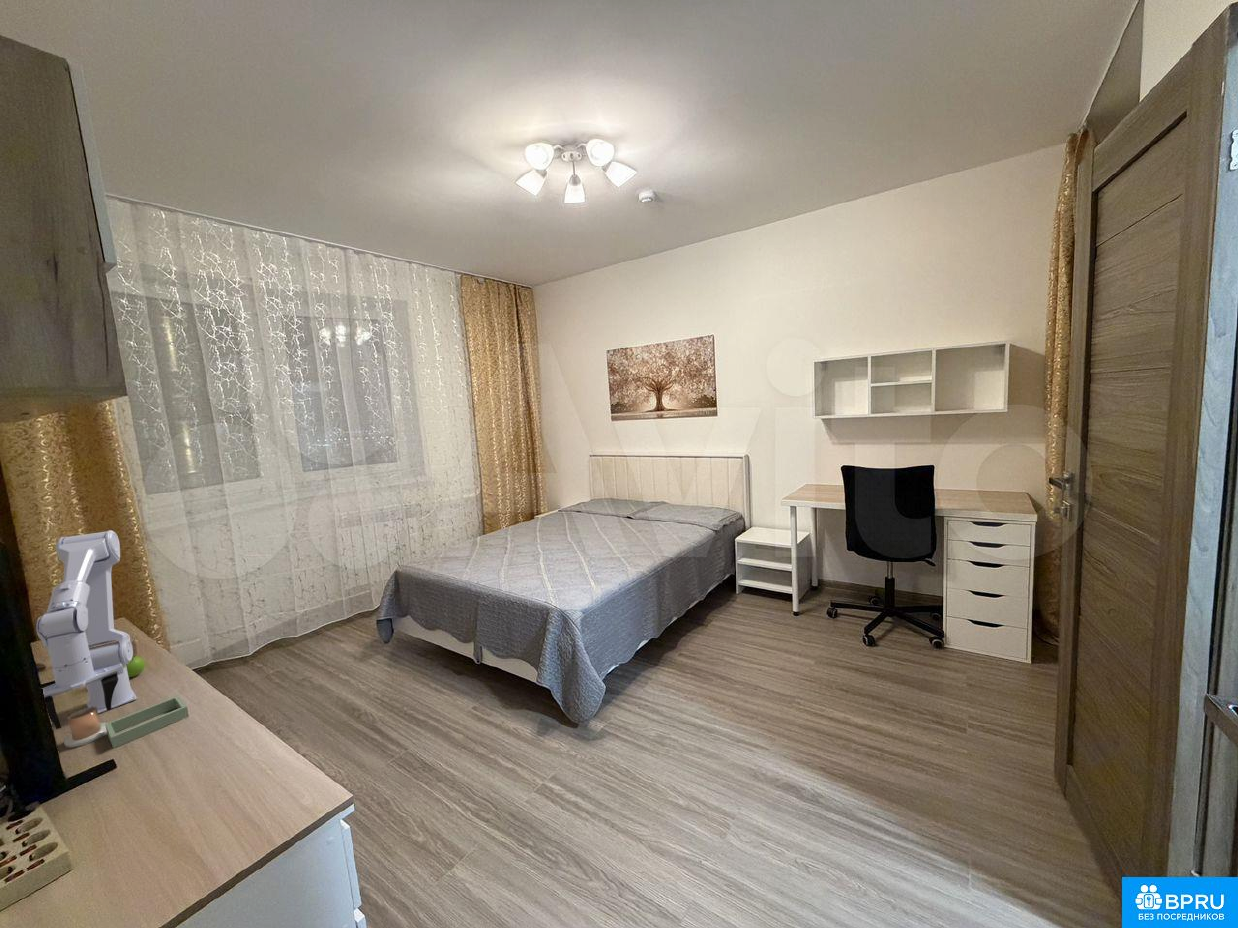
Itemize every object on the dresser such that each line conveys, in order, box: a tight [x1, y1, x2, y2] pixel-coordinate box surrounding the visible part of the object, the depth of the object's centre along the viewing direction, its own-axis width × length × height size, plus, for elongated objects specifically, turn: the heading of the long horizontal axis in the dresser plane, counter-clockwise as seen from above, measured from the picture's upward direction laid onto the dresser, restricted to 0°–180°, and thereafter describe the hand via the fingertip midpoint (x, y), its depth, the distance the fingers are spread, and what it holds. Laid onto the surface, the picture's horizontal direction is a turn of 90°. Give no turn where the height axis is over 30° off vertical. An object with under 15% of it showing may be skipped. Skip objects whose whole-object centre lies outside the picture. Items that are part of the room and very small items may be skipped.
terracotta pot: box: [67, 707, 101, 740], centre depth 108 cm, size 4×4×5 cm
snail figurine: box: [126, 635, 146, 678], centre depth 134 cm, size 5×6×12 cm
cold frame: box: [105, 695, 190, 749], centre depth 111 cm, size 9×13×2 cm
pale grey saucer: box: [63, 722, 108, 749], centre depth 109 cm, size 7×7×1 cm
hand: (84, 717), depth 108 cm, fingers open, 7 cm apart
